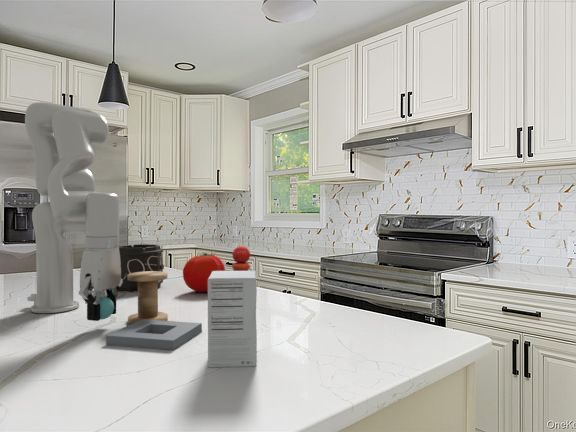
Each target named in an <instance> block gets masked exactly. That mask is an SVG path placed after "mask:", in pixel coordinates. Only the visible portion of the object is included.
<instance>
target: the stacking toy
mask: <svg viewBox="0 0 576 432" xmlns="http://www.w3.org/2000/svg"><path fill="white" fill-rule="evenodd" d="M250 257H251V252H250V250H249V248H248V247H246V246H243V245H239V246H236V247H235V248H234V249H233V250H232V259H233V260H234V262H233V263H232V264H231V265H232V269H233V270H232V271H250V267H251V265H250V263H248V261H249V260H250Z"/></svg>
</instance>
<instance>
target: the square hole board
mask: <svg viewBox="0 0 576 432" xmlns="http://www.w3.org/2000/svg"><path fill="white" fill-rule="evenodd" d="M202 324H203V323H201V322H191V321H190V322H188V321H173V320H172V321H171V320H167V321H160V320H144V319H142V320H140V321H137V322H135V323H133V324H131V325H130V324H128V325H126V326H125V327H121V328H120V329H117V330H115V331H112V332H111V333H108V334H106V335H105V338H106V339H105V345H107V346H120V347H130V348H131V347H133V348H142V349H144V348H145V349H156V350H168V351H175V350H176V349H177V348H179V347H180V346H182V345H183V344H185V343H186V342H188V341H189V340H191V339H192V338H194V337H195V336H198V334H200V333H202V331H203V329H202V328H203V326H202Z"/></svg>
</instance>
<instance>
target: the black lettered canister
mask: <svg viewBox="0 0 576 432" xmlns="http://www.w3.org/2000/svg"><path fill="white" fill-rule="evenodd" d="M119 252H120V261H121V279H122V280H123V282H122V284H121V286H120V289H119V291H118V292H124V291H126V293H127V292H128V293H134V292H135V291H138V282H136V281H129V280H128V274H130V273H135V272H144V271H162V272H164V268H165V265H164V261H163V252H164V250H163V249H162V248H161V245H159V244H151V243H150V244H148V243H142V244H141V243H139V244H132V245H131V244H124V245H119ZM163 282H164V280H158V289H159V288H161V285H162V284H163Z"/></svg>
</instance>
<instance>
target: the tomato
mask: <svg viewBox="0 0 576 432" xmlns="http://www.w3.org/2000/svg"><path fill="white" fill-rule="evenodd" d="M215 254H217V252H216V253H214V254H213V253H210V254H209V253H207V252H202V254H201V255H200V254H199V255H195V256H192V257H191V258H190V259H189V260H187V261H186V263H185V264H184V266H183V269H182V278H183V281H184V283H185V285H186V286H187V287H188V288H189V289H191V290H192V291H195V292H199V293H208V278H209V277H210V275H211V273H212V271H226V267H225V264H224V262H223V260H221V258H220V257H219V256H217V255H215Z"/></svg>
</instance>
